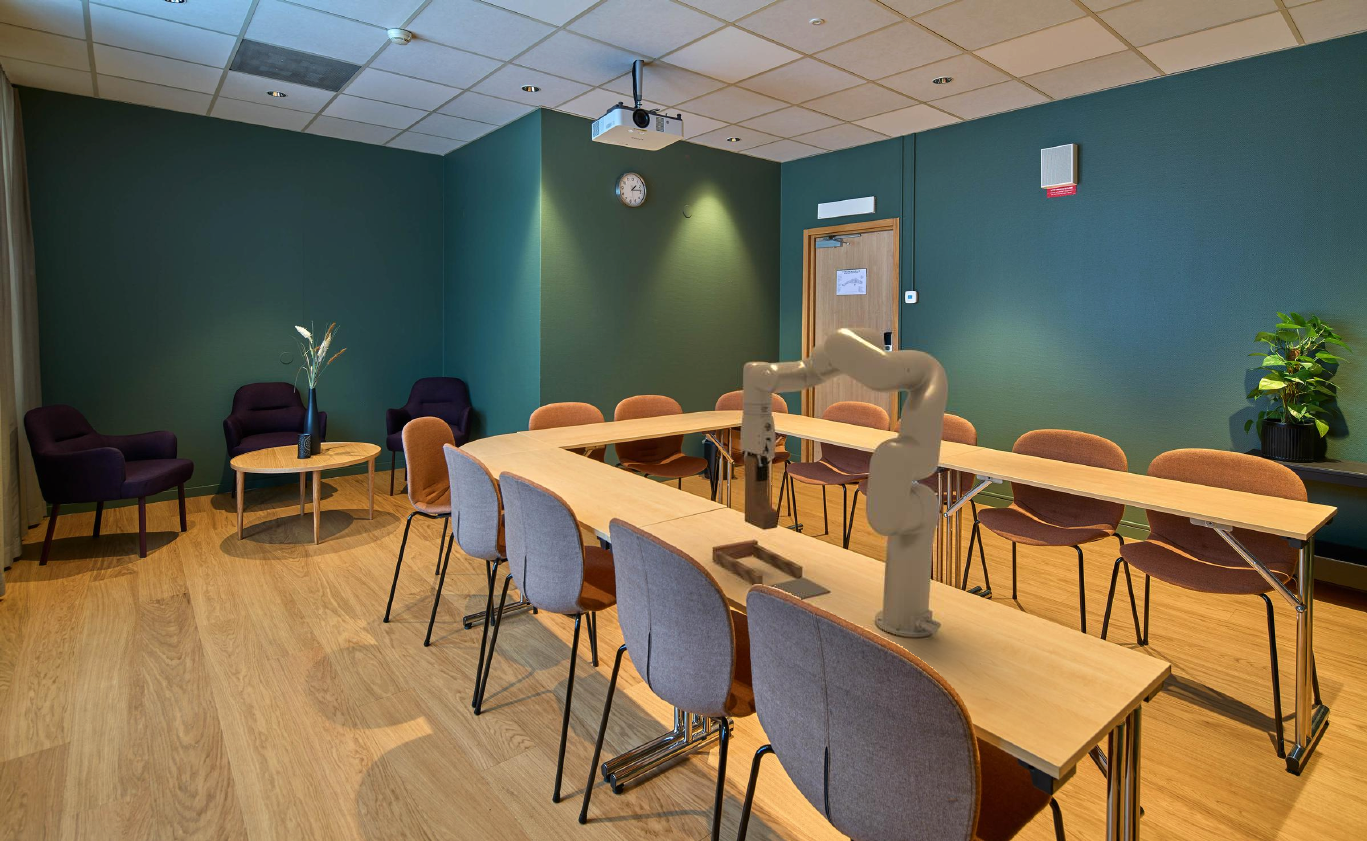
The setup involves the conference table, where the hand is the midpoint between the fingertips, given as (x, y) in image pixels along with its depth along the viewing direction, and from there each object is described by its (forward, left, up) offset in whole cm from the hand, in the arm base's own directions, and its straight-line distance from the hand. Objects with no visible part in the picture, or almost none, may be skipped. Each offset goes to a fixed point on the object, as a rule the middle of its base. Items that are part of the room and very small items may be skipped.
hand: (756, 478), depth 185 cm
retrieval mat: (-18, 0, -25) cm, 30 cm away
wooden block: (-2, 0, -12) cm, 13 cm away
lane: (-2, 0, -25) cm, 25 cm away
